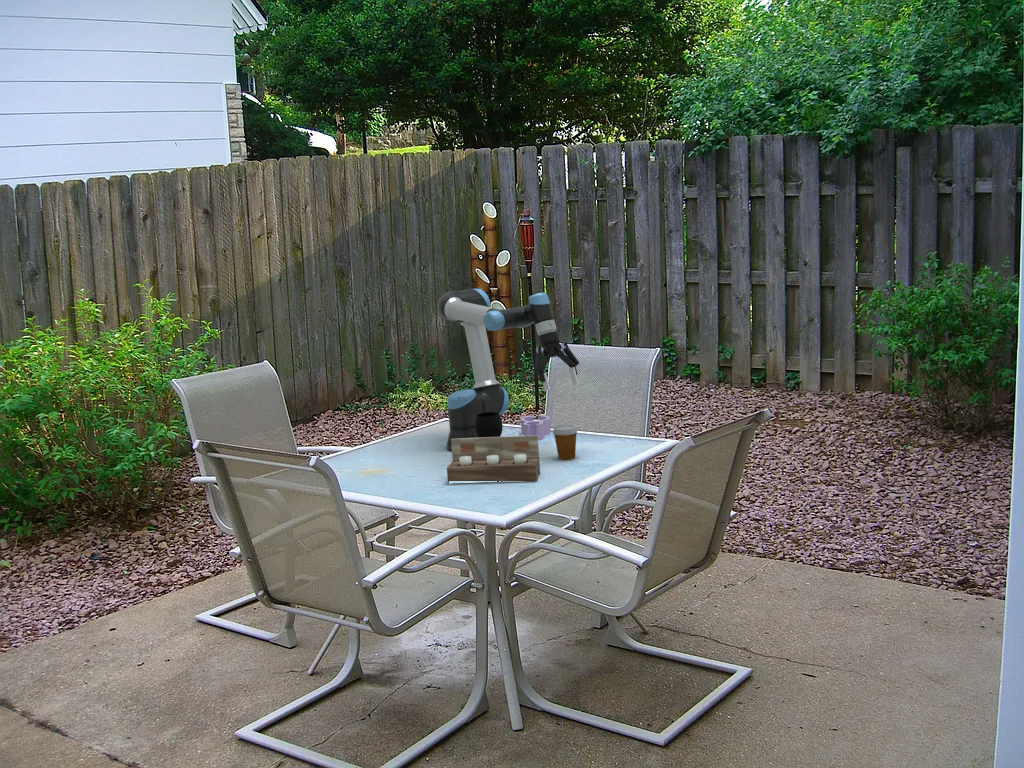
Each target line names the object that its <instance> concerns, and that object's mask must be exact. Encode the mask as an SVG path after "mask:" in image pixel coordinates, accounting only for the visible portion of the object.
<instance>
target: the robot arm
mask: <svg viewBox="0 0 1024 768" xmlns="http://www.w3.org/2000/svg"><path fill="white" fill-rule="evenodd" d="M436 308H437V312H438V314H439V316H440V317H442V319H444V320H447V321H452V322H456V321H459V324H460V325H461V326H462V327H464V332H465V337H466V342H467V346H468V352H469V353H468V354H469V357H470V363H471V368H472V373H473V378H474V385H473V387H472V389H471V388H470V389H467V388H466V389H461V390H457V391H454V392H452V393H450V394H449V395H448V397H447V411H448V423H449V424H448V425H449V434H448V438H447V442H446V448H447V449H448V450H447V449H446V450H447V451H449V450H452V446H451V439H458V438H479V437H478V436H477V434H476V430H475V420H476V415H477V414H480V413H485V412H497V413H499V414H500V416H502V415H504V414H505V413H506V411H507V409H508V407H509V404H510V398H509V393H508V391H507V390H506V389H505V388H504V387H503V386H501V382H500V381H499V380H496V376H495V371H494V365H493V359H492V355H491V349H490V345H489V340H488V334H487V331H491V332H494V331H495V332H497V331H501V330H506V329H507V330H508V329H513V328H519V329H523V328H528V327H530V326H531V325H532V324H534V326H535V330H536V334H537V335H538V340H539V344H540V346H541V347H540V346H539V347H536V348H535V349H534V351H535V358H534V366H533V374H537V376H539V380H540V382H541V383H542V386H543V389H544V392H547V391H550V390H551V387H550V383H549V379H548V375H547V374H548V373H547V372H545V370H546V368H547V365H548V363H549V360H550V359H551V358H556V357H557V358H559V359H560V360H561V361H562V362H564V363H565V364H566V365H567V366H568V367H569V369H568V371H569V375H570V378H571V379H570V380H571V382H572V386H575V385H579V380H578V370H577V366H578V365H580V361H579V360H578V359H577V357H576V356H575V354H574V353H573V352H572V350H571V349H570V348H569V345H568V343H567V342H564V343H560V336H559V333H558V331H557V329H558V328H557V325H556V322H555V317H554V313H553V310H552V305H551V301H550V299H549V295H548V294H547V293H546V292H538V293H535V294H533V295H530V296H529V297H528V304H526V305H524V306H517V307H510V308H504V309H500V308H499V309H498V308H494V307H491V301H490V298H489V296H488V293H486V292H485V291H484V290H483V289H481V288H467V289H461V290H453V291H452V290H451V291H448V292H446V293H444V294H442V296H440V298H439V299H438V301H437V307H436Z"/></svg>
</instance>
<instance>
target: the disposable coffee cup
mask: <svg viewBox="0 0 1024 768" xmlns="http://www.w3.org/2000/svg"><path fill="white" fill-rule="evenodd" d="M552 433H553V436H554V440H555V445H556V446H555V447H556V451H557V457H558V459H559V460H563V461H568V460H569V461H571V460H573V459H575V457H576V449H577V448H576V446H577V433H578V429H577V426H576V425H572V424H563V425H558V426H554V427H553V430H552Z"/></svg>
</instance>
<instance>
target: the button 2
mask: <svg viewBox="0 0 1024 768" xmlns="http://www.w3.org/2000/svg"><path fill="white" fill-rule="evenodd" d="M514 464H527V460H526V454H516V455H514Z"/></svg>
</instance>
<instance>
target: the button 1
mask: <svg viewBox="0 0 1024 768" xmlns="http://www.w3.org/2000/svg"><path fill="white" fill-rule="evenodd" d="M459 462H460V466H472V459H471V456H462V457H459Z"/></svg>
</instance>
